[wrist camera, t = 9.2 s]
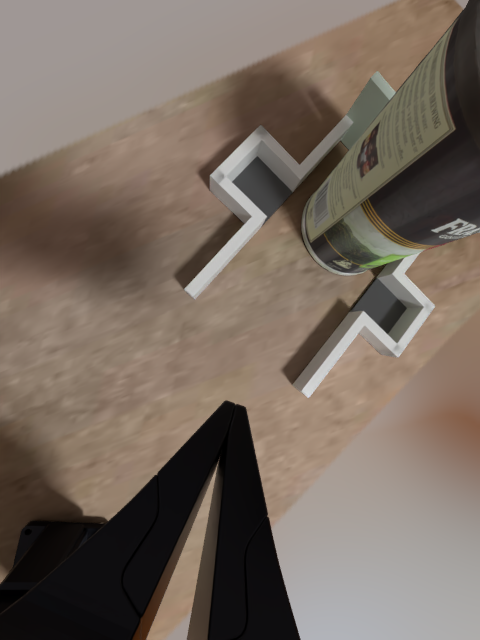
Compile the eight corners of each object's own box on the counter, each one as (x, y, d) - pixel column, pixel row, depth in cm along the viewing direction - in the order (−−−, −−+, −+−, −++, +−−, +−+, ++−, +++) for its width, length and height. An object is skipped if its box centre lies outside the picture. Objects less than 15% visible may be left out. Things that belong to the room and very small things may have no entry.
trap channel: (332, 420, 21) (370, 449, 16) (144, 256, 19) (122, 232, 14) (454, 254, 24) (518, 237, 19) (306, 91, 21) (336, 22, 17)
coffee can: (398, 258, 23) (692, 157, 9) (320, 289, 21) (531, 226, 7) (367, 171, 23) (626, -76, 9) (286, 196, 21) (440, -55, 7)
